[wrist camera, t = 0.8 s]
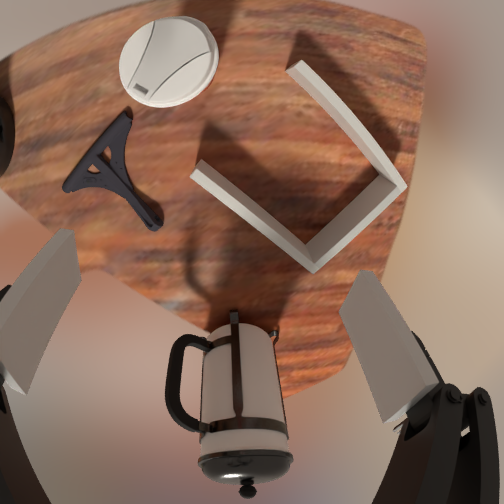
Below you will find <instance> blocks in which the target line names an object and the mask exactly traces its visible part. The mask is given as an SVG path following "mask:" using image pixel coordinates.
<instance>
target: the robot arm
mask: <svg viewBox="0 0 504 504" xmlns="http://www.w3.org/2000/svg"><path fill="white" fill-rule="evenodd" d="M13 147H14V123H13V117H12V114H11V110H10V108H9V106H8V104H7V102H6V101H5V100H4V99H3V98H2V97H0V177H1V176H2V175H3V174H4V172H5V171H6V169H7V167H8V165H9V163H10V160H11V157H12V153H13ZM80 282H81V274H80V269H79V263H78V257H77V250H76V242H75V234H74V230H68V229H61V228H60V229H59V230H58V232H57V233H56V234H55V235H54V236H53V237H52V238H51V239H50V240H49V241H48V242H47V243H46V245H45V246H44V247H43V248H42V249H41V250H40V251H39V253H38V254H37V255H36V256H35V257H34V259H33V260H32V261H31V262H30V263H29V264H28V266H27V267H26V268H25V269H24V271H23V272H22V273H21V274H20V276H19V277H18V278H17V280H16V281H15V282H14V284H13V285H12V286H11V285H7V286H6V287H5V288H3V289H2V290H1V291H0V504H51V502H50V501H49V499H48V497H47V495H46V494H45V492H44V490H43V488H42V486H41V484H40V483H39V480H38V478H37V476H36V474H35V472H34V470H33V468H32V466H31V464H30V462H29V459H28V457H27V455H26V452H25V450H24V448H23V445H22V442H21V440H20V437H19V434H18V432H17V429H16V426H15V423H14V420H13V417H12V413H11V410H10V406H9V403H8V400H7V395H6V392H5V390H4V387H3V386H2V385H3V383H4V381H6V382H7V383H8V385H9V386H10V387H11V388H12V389H13V390H16V391H18V392H20V393H22V394H24V395H27V393H28V390H29V388H30V385H31V382H32V380H33V377H34V374H35V372H36V370H37V368H38V365H39V363H40V360H41V358H42V356H43V353H44V351H45V349H46V347H47V345H48V343H49V340H50V338H51V336H52V334H53V332H54V330H55V328H56V326H57V324H58V322H59V320H60V318H61V316H62V315H63V313H64V311H65V309H66V307H67V305H68V303H69V302H70V300H71V298H72V296H73V294H74V293H75V291H76V289H77V287H78V286H79V284H80ZM339 314H340V316H341V318H342V321H343V323H344V325H345V328H346V330H347V332H348V335H349V337H350V340H351V342H352V344H353V347H354V349H355V352H356V354H357V356H358V359H359V361H360V364H361V366H362V369H363V371H364V374H365V376H366V379H367V381H368V384H369V386H370V389H371V392H372V394H373V397H374V400H375V403H376V405H377V408H378V411H379V414H380V416H381V419H382V422H383V423H387V422H391V421H394V420H397V419H398V418H400V417H401V416H402V415H403V414H405V413H406V414H407V417H408V418H406V419H405V420H404V421H403V422H401V423H400V424H399V425H397V426H396V427H395V428H394V429H393V432H395V431H397V430H398V429H399V428H401V427H402V428H401V430H400V431H399V432H398V433H397V434H399V438H398V441H397V444H396V447H395V450H394V452H393V455H392V458H391V460H390V463H389V466H388V469H387V471H386V473H385V476H384V478H383V481H382V483H381V485H380V487H379V490H378V492H377V494H376V496H375V498H374V500H373V502H372V504H499V488H500V482H499V481H500V477H499V454H498V443H497V434H496V426H495V419H494V413H493V408H492V403H491V399H490V396H489V394H488V392H487V391H486V390H485V389H483V388H481V387H477V388H476V389H475V390H474V391H473V392H472V393H470V394H462V393H461V392H460V390H459V389H458V388H457V387H456V386H454V385H452V384H450V383H449V384H445V383H444V381H443V379H442V377H441V375H440V373H439V372H438V370H437V368H436V366H435V364H434V363H433V361H432V359H431V357H429V356H430V355H429V354H428V352H427V350H425V347H424V345H423V343H422V341H421V340H420V338H419V337H418V336H416V335H415V333H413V331H410V329H409V327H408V325H407V324H406V322H405V321H404V319H403V317H402V316H401V314H400V312H399V311H398V309H397V308H396V306H395V304H394V303H393V301H392V300H391V298H390V297H389V295H388V294H387V292H386V290H385V289H384V288H383V286H382V284H381V283H380V281H379V280H378V279H377V277H376V276H375V274H374V273H373V271H367V270H360V271H359V273H358V275H357V277H356V279H355V281H354V283H353V285H352V287H351V289H350V291H349V293H348V295H347V297H346V299H345V301H344V303H343V305H342V306H341V308H340V310H339ZM468 426H469V429H470V432H468V433H467V434H466V435H464V436H463V437H462V436H461V431H463V430H464V429H466V428H467V427H468Z"/></svg>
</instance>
